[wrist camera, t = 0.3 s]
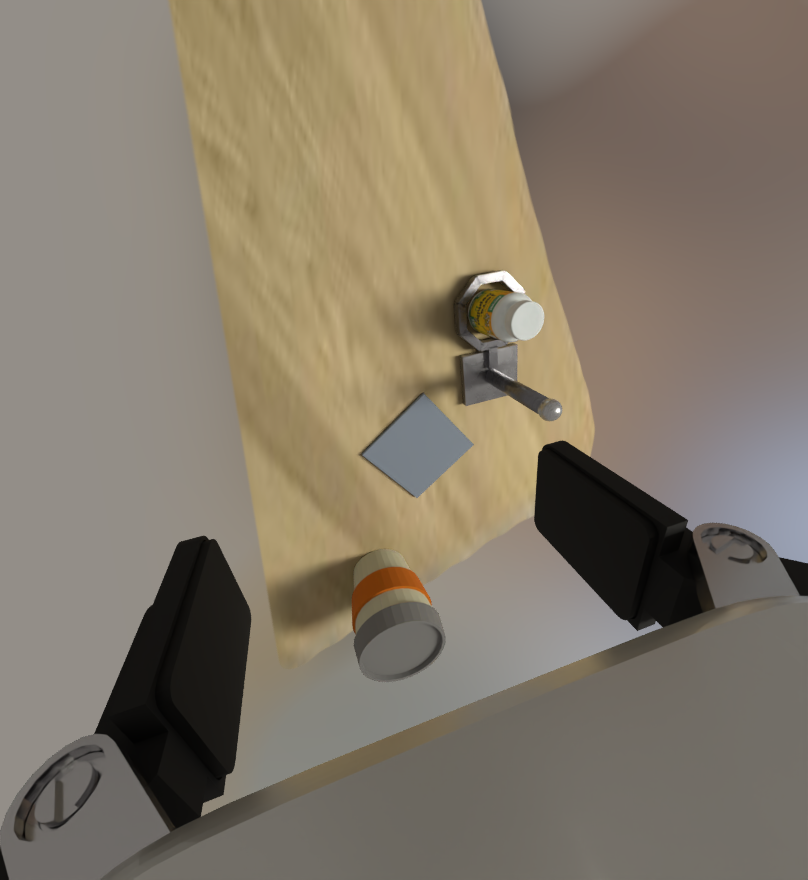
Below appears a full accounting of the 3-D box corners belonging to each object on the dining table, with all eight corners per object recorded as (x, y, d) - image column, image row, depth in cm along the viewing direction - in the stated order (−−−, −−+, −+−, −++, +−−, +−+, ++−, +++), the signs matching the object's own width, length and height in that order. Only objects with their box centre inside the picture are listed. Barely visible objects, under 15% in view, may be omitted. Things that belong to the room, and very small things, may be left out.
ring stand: (450, 279, 43) (519, 287, 30) (517, 266, 45) (610, 269, 32) (459, 404, 51) (517, 454, 38) (516, 389, 53) (590, 432, 40)
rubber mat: (361, 453, 50) (362, 455, 50) (423, 392, 49) (424, 393, 48) (416, 496, 56) (417, 498, 56) (472, 443, 55) (473, 444, 54)
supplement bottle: (495, 336, 48) (537, 352, 40) (460, 326, 46) (497, 341, 38) (510, 295, 46) (558, 302, 38) (474, 282, 44) (517, 288, 36)
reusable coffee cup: (352, 605, 63) (368, 695, 50) (334, 555, 57) (346, 642, 44) (419, 581, 65) (451, 661, 52) (408, 530, 59) (442, 606, 46)
